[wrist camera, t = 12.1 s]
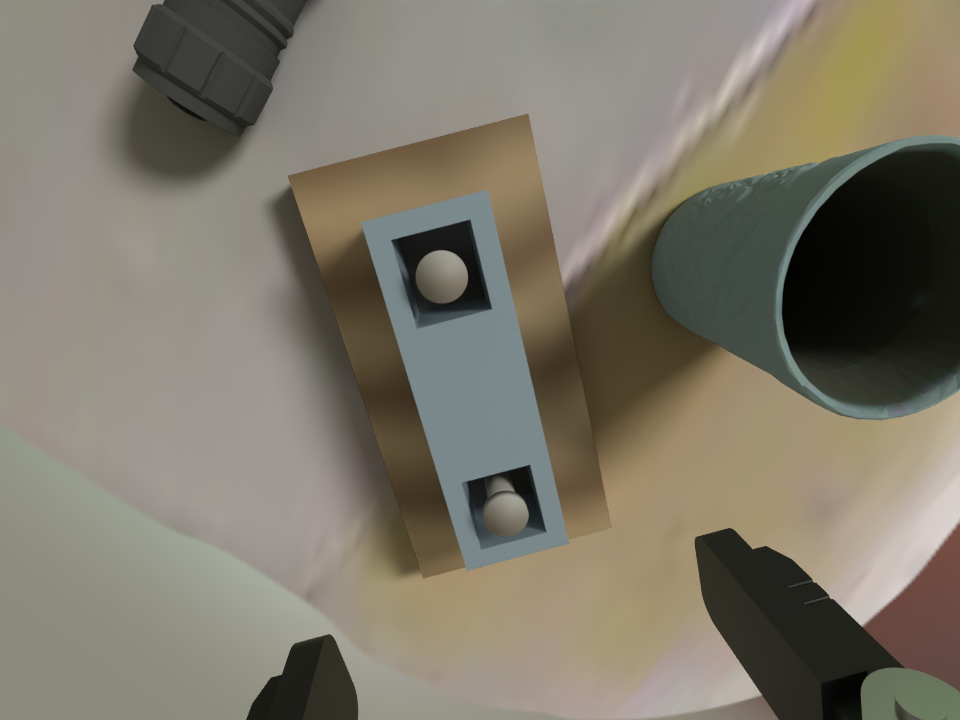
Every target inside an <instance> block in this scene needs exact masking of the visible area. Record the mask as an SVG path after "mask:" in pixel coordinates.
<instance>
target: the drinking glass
mask: <svg viewBox="0 0 960 720" xmlns="http://www.w3.org/2000/svg"><path fill="white" fill-rule="evenodd" d="M651 273H652V281H653V285H654V289H655V292H656V295H657V297H658V300H659V301H660V303H661V305H662V307H663V308H664V310H665V311H666V312H667V313H668V315H669V316H670V317H671V318H673V319H674V320H675V321H676V322H677V323H679V324H680V325H682V326H684V327H685V328H687V329H688V330H690V331H692V332H693V333H695V334H697V335H699V336H701V337H703V338H706V339H708V340H710V341H712V342H714V343H716V344H718V345H719V346H721V347H723V348H724V349H726V350H727V351H729V352H731V353H733V354H734V355H736V356H738V357H740V358H742V359H744V360H745V361H747V362H749V363H751V364H753V365H755V366H756V367H758V368H760V369H762V370H764V371H766V372H768V373H769V374H771V375H773V376H774V377H775V378H776V379H778V380H779V381H780V382H781V383H783V384H784V385H786V386H788V387H789V388H791V389H792V390H794V391H796V392H797V393H799V394H801V395H802V396H804V397H805V398H807V399H809V400H810V401H812V402H814V403H815V404H817V405H819V406H821V407H823V408H825V409H827V410H829V411H831V412H834V413H836V414H838V415H841V416H846V417H851V418H856V419H869V420H884V419H891V418H897V417H903V416H906V415H910V414H913V413H917V412H920V411H922V410H924V409H927V408H929V407H931V406H933V405H936V404H938V403H940V402H941V401H943V400H945V399H946V398H948V397H950V396H951V395H953V394H955V393H956V392H958V391H959V390H960V138H958V137H949V136H941V135H926V136H916V137H911V138H907V139H902V140H897V141H893V142H890V143H886V144H883V145H879V146H876V147H872V148H869V149H865V150H861V151H858V152H854V153H851V154H847V155H844V156H840V157H834V158H830V159H828V160H826V161H824V162H822V163H820V164H818V163H808V164H804V165H801V166H795V167H791V168H787V169H784V170H778V171H774V172H771V173H769V174H767V175H758V176H754V177H750V178H746V179H743V180H738V181H732V182H728V183H724V184H720V185H717V186H713V187H710V188H707V189H705V190H703V191H701V192H699V193H697V194H695V195H694V196H692V197H691V198H689V199H688V200H687V201H686V202H684V203H683V204H682V205H681V206H680V207H679V208H678V209H677V210H675V211H674V212H673V213H672V215H671V216H670V217H669V218H668V220H667V221H666V223H665V224H664V226H663V228H662V230H661V232H660V234H659V236H658V238H657V241H656V244H655V247H654V251H653V255H652V265H651Z"/></svg>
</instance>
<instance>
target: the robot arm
mask: <svg viewBox="0 0 960 720" xmlns="http://www.w3.org/2000/svg"><path fill="white" fill-rule="evenodd" d="M695 550H696V557H697V563H698V570H699V577H700V584H701V591H702V596H703V600H704V603H705V606H706V608H707V611H708V613H709V615H710V617H711V619H712V621H713V623H714V625H715V626H716V628H717V629H718V631H719V632H720V634H721V635H722V637H723V638H724V639H725V641H726V642H727V644H728V645H729V647H730V648H731V650H732V651H733V653H734V654H735V656H736V657H737V659H738V660H739V662H740V663H741V664H742V666H743V667H744V669H745V670H746V672H747V673H748V675H749V676H750V678H751V679H752V681H753V682H754V684H755V685H756V687H757V688H758V689H759V691H760V692H761V694H762V695H763V697H764V698H765V700H766V701H767V702H768V704H769V706H770V707H771V709H772V710H773V711H774V713H775V714H776V716H777V717H778V719H779V720H960V692H958V691H957V690H956V689H954V688H953V687H951V686H950V685H948V684H947V683H945V682H943V681H941V680H939V679H937V678H935V677H933V676H930V675H928V674H925V673H922V672H919V671H915V670H911V669H906V668H904V667H903V666H902V665H901V664H900V663H899V662H898V661H897V660H896V659H895V658H893V657H892V656H891V655H890V654H889V653H888V652H887V651H886V650H885V649H884V648H883V647H882V646H881V645H880V644H879V643H878V642H877V641H876V640H875V639H874V638H873V637H872V636H871V635H869V633H868V632H866V630H865V629H864V628H862V627H861V626H860V625H859V624H858V623H857V622H856V621H855V620H854V619H853V618H852V617H851V616H850V615H849V614H848V613H847V612H846V611H845V610H844V609H843V608H842V607H841V606H840V605H839V604H838V603H837V602H836V601H835V600H834V599H830V597H829V595H828V594H827V593H826V592H825V591H824V590H823V589H822V588H821V587H820V586H819V585H818V584H817V583H814V582H813V580H812V578H811V577H810V576H809V575H808V574H807V573H806V572H805V571H804V570H802V569H801V568H800V567H799V566H798V565H797V564H796V563H795V562H794V561H793V560H792V559H790V558H788V557H786V556H784V555H782V554H780V553H779V552H777V551H775V550H773V549H771V548H769V547H767V546H764V547H760V548H756V549H752V548H751V547H750V546H749V545H748V544H747V543H746V542H745V541H744V540H743V539H742V538H741V536H740V535H739V534H738V533H737V532H736V531H735V530H733V529H731V528H727V529H724V530H720V531H716V532H713V533H709V534H705V535H701V536H698V537H696V538H695ZM246 720H358V701H357V695H356V690H355V687H354V684H353V682H352V679H351V677H350V675H349V672H348V670H347V667H346V665H345V662H344V660H343V658H342V655H341V653H340V651H339V648H338V646H337V643H336V641H335V639H334V638H333V636H331V635H330V634H328V635H324V636H321V637H317V638H313V639H309V640H306V641H302V642H299V643H295V644H294V645H293V646H292V648H291V650H290V652H289V655H288V658H287V661H286V664H285V667H284V670H283V674H282V675H279V676H276V677H272V678H270V680H269V681H268V682H267V684H266V685H265V687H264V688H263V690H262V691H261V692H260V694H259V695H258V696H257V698H256V699H255V701H254V702H253V703H252V706H251V709H250V711H249V714H248V717H247V719H246Z"/></svg>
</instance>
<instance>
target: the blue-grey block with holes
mask: <svg viewBox="0 0 960 720" xmlns="http://www.w3.org/2000/svg"><path fill="white" fill-rule="evenodd" d="M463 221H466V224H467V228H468V232H469V236H470V240H471V244H472V248H473V252H474V256H475V260H476V264H477V268H478V272H479V276H480V281H481V285H482V289H483V293H484V296H482V297H479V298H475V299H471V300H467V301H463V302H459V303H456V304H452V305H448V306H444V307H440V308H436V309H433V310H429V311H425V312H421V313H420V312H419V309H418V305H417V302H416V298H415V295H414V291H413V288H412V284H411V281H410V277H409V274H408V271H407V267H406V264H405V260H404V257H403V253H402V250H401V246H400V243H399V239H398V238H401V237H404V236H408V235H412V234H416V233H420V232H424V231H428V230H432V229H435V228H439V227H443V226H447V225H451V224H455V223H459V222H463ZM361 224H362V228H363V231H364V234H365V237H366V241H367V244H368V247H369V251H370V254H371V257H372V260H373V264H374V267H375V270H376V274H377V277H378V280H379V283H380V287H381V290H382V293H383V297H384V300H385V303H386V306H387V310H388V313H389V316H390V320H391V323H392V326H393V329H394V333H395V336H396V339H397V343H398V346H399V349H400V352H401V356H402V359H403V362H404V366H405V369H406V372H407V375H408V379H409V382H410V385H411V389H412V392H413V395H414V399H415V402H416V405H417V408H418V412H419V415H420V418H421V422H422V425H423V428H424V431H425V435H426V438H427V441H428V445H429V448H430V451H431V454H432V458H433V461H434V464H435V468H436V471H437V474H438V477H439V481H440V484H441V487H442V491H443V494H444V497H445V500H446V504H447V507H448V510H449V514H450V517H451V520H452V523H453V527H454V530H455V533H456V537H457V540H458V543H459V546H460V550H461V553H462V556H463V560H464V563H465V566H466V569H467V570H471V569H475V568H479V567H482V566H486V565H490V564H494V563H497V562H501V561H505V560H509V559H512V558H516V557H520V556H524V555H527V554H531V553H535V552H539V551H542V550H546V549H550V548H554V547H557V546H561V545H565V544H569V541H568V537H567V532H566V528H565V524H564V519H563V515H562V511H561V506H560V502H559V498H558V493H557V489H556V484H555V480H554V476H553V471H552V467H551V463H550V458H549V454H548V450H547V445H546V441H545V437H544V432H543V428H542V424H541V419H540V415H539V411H538V406H537V402H536V398H535V393H534V389H533V385H532V380H531V376H530V372H529V367H528V363H527V359H526V354H525V350H524V345H523V341H522V337H521V332H520V328H519V324H518V319H517V315H516V311H515V306H514V302H513V298H512V293H511V289H510V285H509V280H508V276H507V272H506V267H505V263H504V259H503V254H502V250H501V246H500V241H499V237H498V233H497V228H496V224H495V220H494V215H493V211H492V206H491V202H490V198H489V193H488V190H484V191H480V192H476V193H472V194H469V195H465V196H461V197H457V198H453V199H449V200H445V201H441V202H438V203H434V204H430V205H426V206H422V207H418V208H414V209H410V210H407V211H403V212H399V213H395V214H391V215H387V216H383V217H379V218H375V219H372V220H368V221H364V222H361ZM523 466H526V467H527V471H528V476H529V480H530V484H531V488H532V492H531V493H527V494H523V495H520V496H521V497H522V498H523V499H524V501H525V503H526V506H527V509H528V514H529V517H528V522H527V524H526V526H525V527H524V528H523V529H522V530H521V531H520V532H519V533H517V534H515V535H512V536H507V537H503V536H498V535H495V534H493V533H492V532H490V531H489V530H488V529H487V527H486V525H485V523H484V517H483V507H484V505H482V506H478V507H475V505H474V501H473V498H472V494H471V491H470V487H469V484H468V481H470V480H474V479H478V478H482V477H485V476H489V475H493V474H497V473H501V472H504V471H508V470H512V469H516V468H519V467H523Z"/></svg>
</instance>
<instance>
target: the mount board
mask: <svg viewBox="0 0 960 720" xmlns="http://www.w3.org/2000/svg"><path fill="white" fill-rule="evenodd" d="M288 178H289V181H290V184H291V187H292V190H293V193H294V196H295V199H296V202H297V205H298V208H299V211H300V214H301V217H302V220H303V223H304V226H305V229H306V232H307V235H308V238H309V241H310V243H311V246H312V249H313V252H314V255H315V258H316V261H317V264H318V267H319V270H320V273H321V276H322V279H323V282H324V285H325V288H326V291H327V294H328V297H329V300H330V303H331V306H332V309H333V312H334V315H335V318H336V321H337V324H338V327H339V329H340V332H341V335H342V338H343V341H344V344H345V347H346V350H347V353H348V356H349V359H350V362H351V365H352V368H353V371H354V374H355V377H356V380H357V383H358V386H359V389H360V392H361V395H362V398H363V401H364V404H365V407H366V410H367V412H368V415H369V418H370V421H371V424H372V427H373V430H374V433H375V436H376V439H377V442H378V445H379V448H380V451H381V454H382V457H383V460H384V463H385V466H386V469H387V472H388V475H389V478H390V481H391V484H392V487H393V490H394V493H395V496H396V498H397V501H398V504H399V507H400V510H401V513H402V516H403V519H404V522H405V525H406V528H407V531H408V534H409V537H410V540H411V543H412V546H413V549H414V552H415V555H416V558H417V561H418V564H419V567H420V570H421V573H422V576H423V578H426V577H430V576H434V575H438V574H441V573H445V572H449V571H453V570H456V569H460V568H464V567H466V566H465V563H464V560H463V556H462V553H461V550H460V546H459V543H458V540H457V537H456V533H455V530H454V527H453V523H452V520H451V517H450V514H449V510H448V507H447V504H446V500H445V497H444V494H443V491H442V487H441V484H440V481H439V477H438V474H437V471H436V468H435V464H434V461H433V458H432V454H431V451H430V448H429V445H428V441H427V438H426V435H425V431H424V428H423V425H422V422H421V418H420V415H419V412H418V408H417V405H416V402H415V399H414V395H413V392H412V389H411V385H410V382H409V379H408V375H407V372H406V369H405V366H404V362H403V359H402V356H401V352H400V349H399V346H398V343H397V339H396V336H395V333H394V329H393V326H392V323H391V320H390V316H389V313H388V310H387V306H386V303H385V300H384V297H383V293H382V290H381V287H380V283H379V280H378V277H377V274H376V270H375V267H374V264H373V260H372V257H371V254H370V251H369V247H368V244H367V241H366V237H365V234H364V231H363V228H362V224H361V222H364V221H368V220H372V219H375V218H379V217H383V216H387V215H391V214H395V213H399V212H403V211H407V210H410V209H414V208H418V207H422V206H426V205H430V204H434V203H438V202H441V201H445V200H449V199H453V198H457V197H461V196H465V195H469V194H472V193H476V192H480V191H484V190H488V193H489V198H490V202H491V206H492V211H493V215H494V220H495V224H496V228H497V233H498V237H499V241H500V246H501V250H502V254H503V259H504V263H505V267H506V272H507V276H508V280H509V285H510V289H511V293H512V298H513V302H514V306H515V311H516V315H517V319H518V324H519V328H520V332H521V337H522V341H523V345H524V350H525V354H526V359H527V363H528V367H529V372H530V376H531V380H532V385H533V389H534V393H535V398H536V402H537V406H538V411H539V415H540V419H541V424H542V428H543V432H544V437H545V441H546V445H547V450H548V454H549V458H550V463H551V467H552V471H553V476H554V480H555V484H556V489H557V493H558V498H559V502H560V506H561V511H562V515H563V519H564V524H565V528H566V532H567V537H568V539H572V538H576V537H580V536H583V535H587V534H591V533H595V532H598V531H602V530H606V529H610V528H612V527H611V522H610V517H609V512H608V507H607V502H606V497H605V492H604V487H603V482H602V478H601V473H600V468H599V463H598V458H597V453H596V448H595V443H594V438H593V433H592V428H591V423H590V418H589V413H588V408H587V403H586V398H585V393H584V388H583V383H582V378H581V373H580V368H579V363H578V358H577V353H576V348H575V343H574V338H573V333H572V328H571V323H570V319H569V314H568V309H567V304H566V299H565V294H564V289H563V284H562V279H561V274H560V269H559V264H558V259H557V254H556V249H555V244H554V239H553V234H552V229H551V224H550V219H549V214H548V209H547V204H546V199H545V194H544V189H543V184H542V179H541V174H540V169H539V164H538V160H537V155H536V150H535V145H534V140H533V135H532V130H531V125H530V120H529V115H528V114H525V115H522V116H518V117H514V118H510V119H506V120H502V121H498V122H494V123H491V124H487V125H483V126H479V127H475V128H471V129H467V130H463V131H460V132H456V133H452V134H448V135H444V136H440V137H436V138H432V139H429V140H425V141H421V142H417V143H413V144H409V145H405V146H401V147H397V148H394V149H390V150H386V151H382V152H378V153H374V154H370V155H366V156H363V157H359V158H355V159H351V160H347V161H343V162H339V163H335V164H332V165H328V166H324V167H320V168H316V169H312V170H308V171H304V172H301V173H297V174H293V175H289V176H288ZM398 239H399V243H400V246H401V250H402V253H403V257H404V260H405V264H406V267H407V271H408V274H409V277H410V281H411V284H412V288H413V291H414V295H415V298H416V302H417V305H418V309H419V312H420V313H421V312H425V311H429V310H433V309H436V308H440V307H444V306H448V305H452V304H456V303H459V302H463V301H467V300H471V299H475V298H479V297H482V296H484V293H483V289H482V285H481V281H480V276H479V272H478V268H477V264H476V260H475V256H474V252H473V248H472V244H471V240H470V236H469V232H468V228H467V224H466V221H463V222H459V223H455V224H451V225H447V226H443V227H439V228H435V229H432V230H428V231H424V232H420V233H416V234H412V235H408V236H404V237H401V238H398ZM468 484H469V487H470V491H471V494H472V498H473V501H474V505H475V507H478V506H482V505H484V507H483V517H484V523H485V525H486V527H487V529H488V530H489V531H490V532H492V533H493V534H495V535H498V536H503V537H507V536H512V535H515V534H517V533H519V532H520V531H521V530H522V529H523V528H524V527H525V526H526V524H527V522H528V517H529V514H528V509H527V506H526V503H525V501H524V499H523V498H522V497H521V496H520V495H523V494H527V493H531V492H532V488H531V484H530V480H529V476H528V471H527V467H526V466H523V467H519V468H516V469H512V470H508V471H504V472H501V473H497V474H493V475H489V476H485V477H482V478H478V479H474V480H470V481H468Z"/></svg>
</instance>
